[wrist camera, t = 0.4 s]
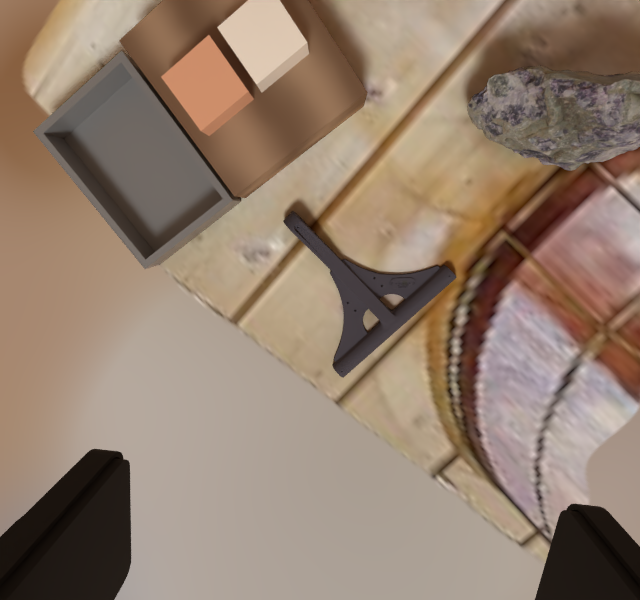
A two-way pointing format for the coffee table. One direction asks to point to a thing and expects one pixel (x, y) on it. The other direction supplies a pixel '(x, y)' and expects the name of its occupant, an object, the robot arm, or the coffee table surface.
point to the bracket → (370, 297)
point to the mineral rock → (560, 114)
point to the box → (136, 162)
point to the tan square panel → (251, 89)
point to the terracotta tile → (207, 86)
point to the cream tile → (264, 40)
